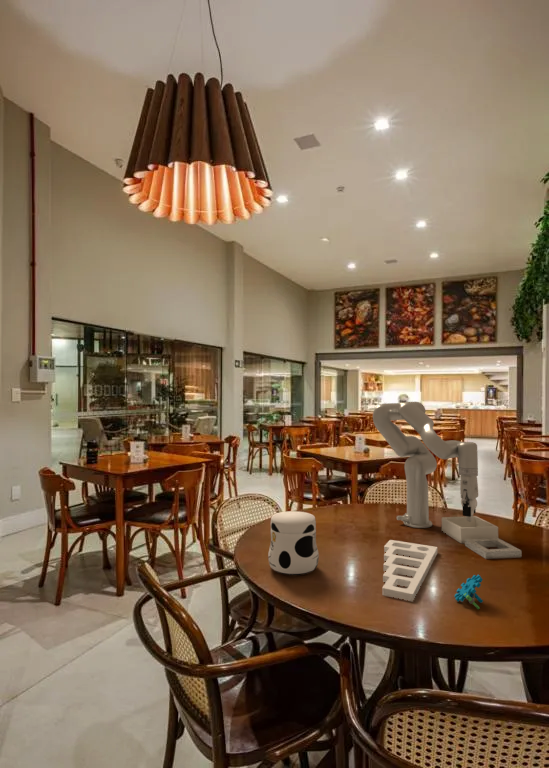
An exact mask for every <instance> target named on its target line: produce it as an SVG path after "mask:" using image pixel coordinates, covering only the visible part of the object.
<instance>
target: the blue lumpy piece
mask: <svg viewBox="0 0 549 768" xmlns="http://www.w3.org/2000/svg"><path fill="white" fill-rule="evenodd" d="M482 581H483V578H482V577H481V575H479V574H477V575H476V574H473V575H472V577H468V578H466V582H462V583H461V584H460V587H461V588H460V587H459V588H457V589H456V593H455V594H454V599H455V600H456V601H457V602H459V601H460V602H461V603H462V602H464V601H465V599H466V600H467V602H468V603H469V604H472V605H473V607H475V609H477V610H480V608H481V607H480V606H479V605H478V604H477V603H476V602H475V599H476V600H477V601H478V602H479V603H480V604H482V603H483V602H484V600H483V599H482V598H481V597H480V596H479V595H478V594H477V593H476V592H477V590H476V588H478V589H479V588H480V587H481V585H482V584H481V583H482Z"/></svg>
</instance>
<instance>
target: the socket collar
mask: <svg viewBox="0 0 549 768" xmlns="http://www.w3.org/2000/svg"><path fill="white" fill-rule="evenodd" d="M464 546H465V547H466V548H468V549H469V550H471V551H473V552H474V553H476V554H477V555H479V556H481V557H482V558H484V560H490V559H491V560H492V559H513V558H522V554H523V553H522V549H519V548H517V547H516V546H514V545H512V544H511V543H508V542H507V541H504V540H503V539H502V538H499V537H498V538H489V539H466V540H465V543H464ZM489 548H490V549H489Z"/></svg>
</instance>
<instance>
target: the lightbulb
mask: <svg viewBox="0 0 549 768" xmlns="http://www.w3.org/2000/svg"><path fill="white" fill-rule="evenodd" d="M466 499H469V498H466ZM467 502H468V501H467ZM462 504H463V503H462V498H461V500H460V505H461V507H462V508H463V506H462ZM470 507H471V517H468V516H465V517H466V520H467V521H469V522H471V521H473V516H474V514H475V513H474V510H475V508H477V507H478V501H477V498H476V499H474V500H470Z"/></svg>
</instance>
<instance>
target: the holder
mask: <svg viewBox="0 0 549 768" xmlns="http://www.w3.org/2000/svg"><path fill="white" fill-rule="evenodd" d="M383 547H384V548H383V549H384V550H383V551H384V554H383V562H384V563H383V566H382V567H383V572H384V573H383V575H382V583H383V582H385V583H384V584H383V586H382V588H381V589H382V596H384V597H390V598H393V597H394V599H398V598H399V599H398V600H402V599H404V600H403V601H407V600H408V601H407V602H414V601H415V599H416V597H415V596H417V595H416V594H418V593H419V590H420V588H421V587H422V584H423V583H424V581H425V579H426V577H427V575H428V573H429V571H430V570H431V567H432V565H433V563H434V561H435V559H436V557H437V555H438V546H432V545H426V544H422V543H421V544H419V543H414V542H406V541H402V540H393V539H389V540H388V541H387V542H386V543H385V544H384V546H383ZM385 552H386V553H385ZM396 554H398V555H396ZM403 555H404V556H403ZM409 556H410V557H409ZM385 561H386V562H385ZM402 564H403V565H402ZM407 565H409V566H407ZM413 566H414V567H413ZM385 571H386V572H385ZM406 575H407V576H406ZM411 576H412V577H411ZM397 585H400V586H399V587H398V586H397ZM403 586H405V587H403ZM420 586H421V587H420ZM414 598H415V599H414ZM413 600H414V601H413Z"/></svg>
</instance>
